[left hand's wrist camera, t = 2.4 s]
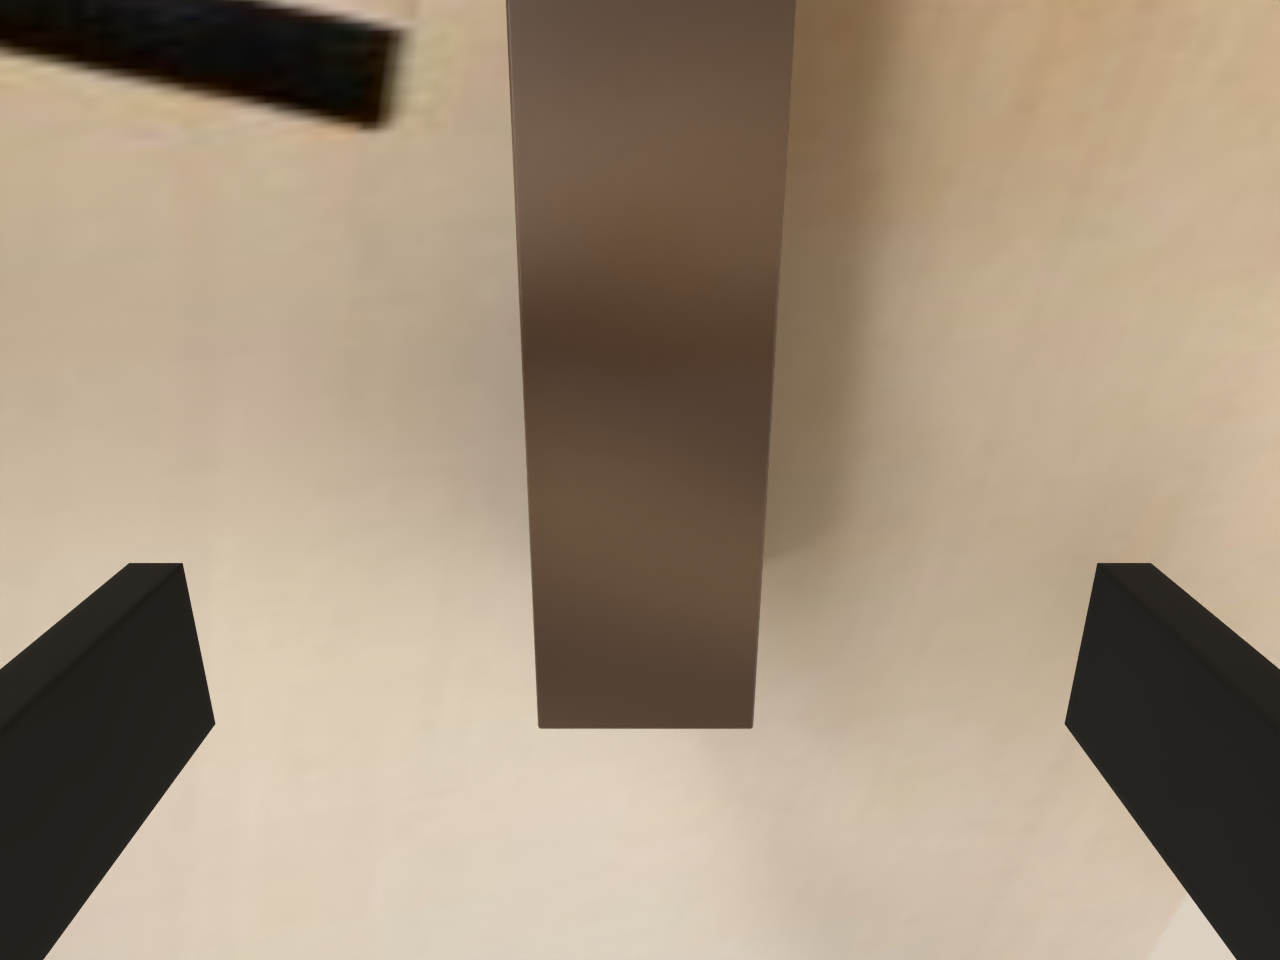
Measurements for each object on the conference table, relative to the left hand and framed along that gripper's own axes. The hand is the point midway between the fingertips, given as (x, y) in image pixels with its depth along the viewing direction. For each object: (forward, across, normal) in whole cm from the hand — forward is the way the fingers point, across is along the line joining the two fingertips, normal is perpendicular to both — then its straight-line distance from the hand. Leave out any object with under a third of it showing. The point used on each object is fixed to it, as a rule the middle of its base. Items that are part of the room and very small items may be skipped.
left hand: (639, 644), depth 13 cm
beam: (+14, 0, -25) cm, 28 cm away
